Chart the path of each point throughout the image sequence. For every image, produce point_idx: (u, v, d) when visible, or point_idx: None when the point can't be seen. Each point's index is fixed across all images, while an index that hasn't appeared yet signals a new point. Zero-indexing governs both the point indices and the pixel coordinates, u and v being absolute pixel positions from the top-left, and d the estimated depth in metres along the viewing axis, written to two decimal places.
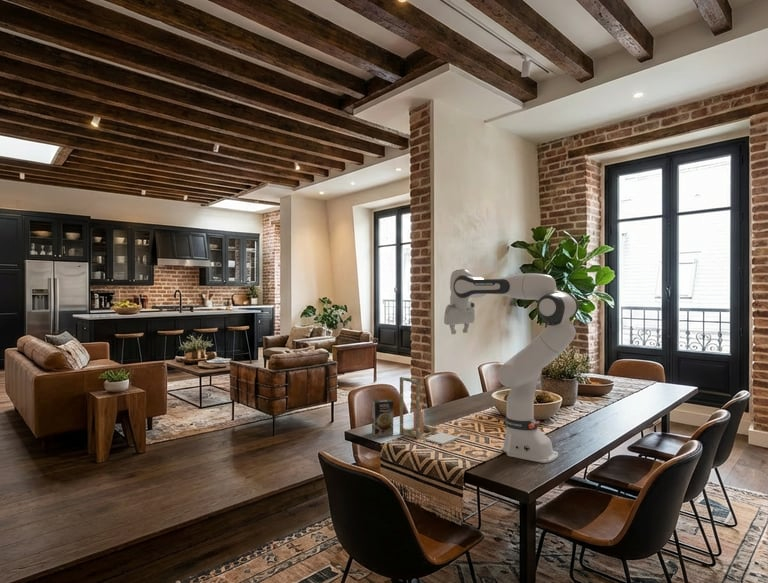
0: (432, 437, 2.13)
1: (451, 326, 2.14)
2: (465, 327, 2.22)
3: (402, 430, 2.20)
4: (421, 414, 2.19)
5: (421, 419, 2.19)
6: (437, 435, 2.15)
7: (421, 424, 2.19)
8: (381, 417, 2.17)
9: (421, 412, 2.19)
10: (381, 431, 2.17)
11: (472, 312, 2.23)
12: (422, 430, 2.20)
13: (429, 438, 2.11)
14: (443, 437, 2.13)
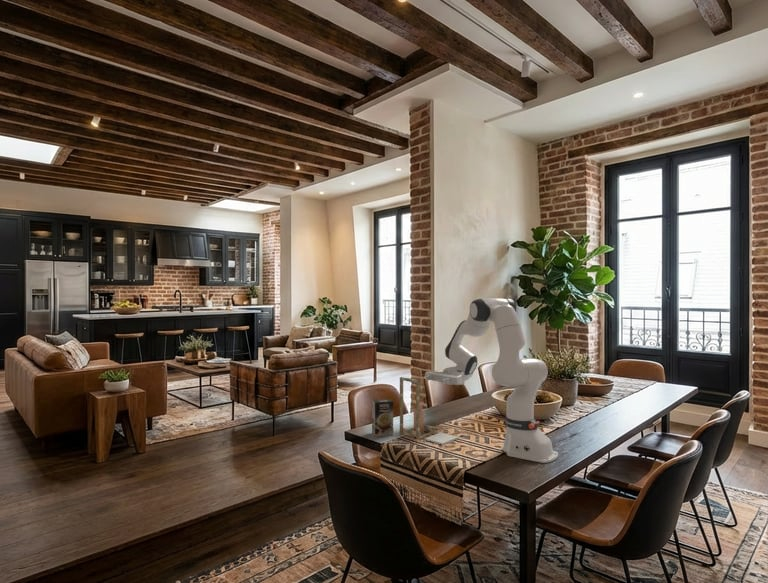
0: (432, 437, 2.13)
1: None
2: None
3: (402, 430, 2.20)
4: (421, 414, 2.19)
5: (421, 419, 2.19)
6: (437, 435, 2.15)
7: (421, 424, 2.19)
8: (381, 417, 2.17)
9: (421, 412, 2.19)
10: (381, 431, 2.17)
11: (458, 375, 2.32)
12: (422, 430, 2.20)
13: (429, 438, 2.11)
14: (443, 437, 2.13)
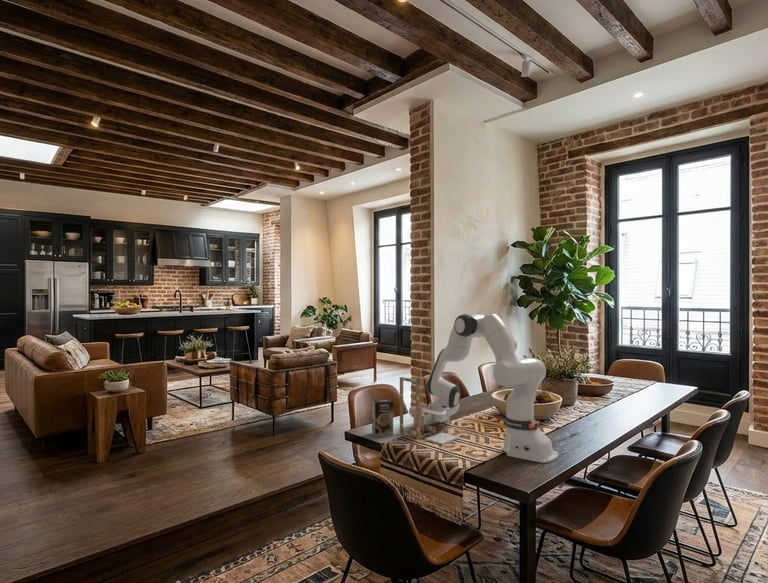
0: (432, 437, 2.13)
1: None
2: None
3: (402, 430, 2.20)
4: (421, 414, 2.19)
5: (421, 419, 2.19)
6: (437, 435, 2.15)
7: (421, 424, 2.19)
8: (381, 417, 2.17)
9: (421, 412, 2.19)
10: (381, 431, 2.17)
11: (443, 411, 2.23)
12: (422, 430, 2.20)
13: (429, 438, 2.11)
14: (443, 437, 2.13)
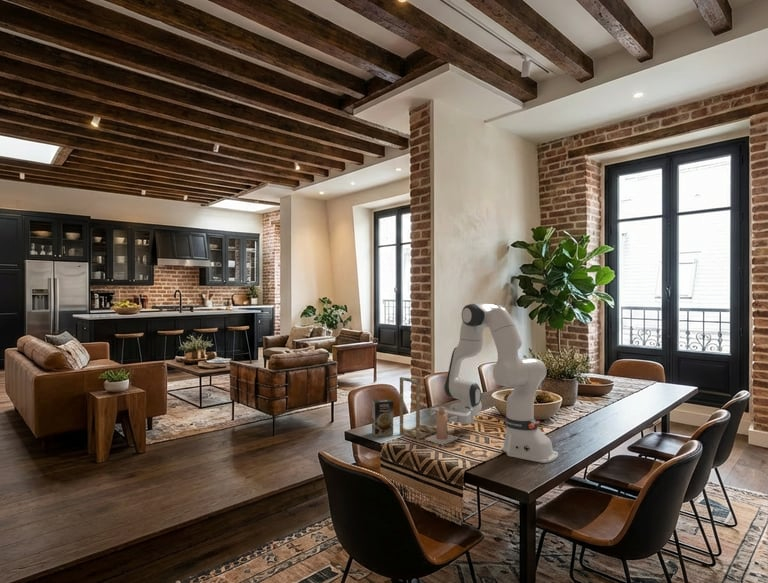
0: (432, 437, 2.13)
1: None
2: None
3: (402, 430, 2.20)
4: (444, 418, 2.10)
5: (444, 423, 2.10)
6: None
7: (444, 428, 2.10)
8: (381, 417, 2.17)
9: (444, 416, 2.10)
10: (381, 431, 2.17)
11: (467, 412, 2.13)
12: (445, 434, 2.10)
13: (429, 438, 2.11)
14: None
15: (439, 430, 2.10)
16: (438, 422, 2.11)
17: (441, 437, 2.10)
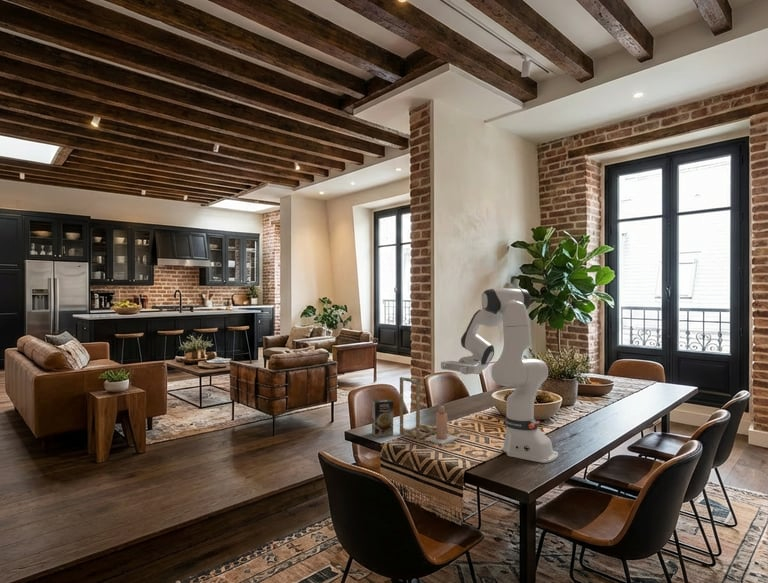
0: (432, 437, 2.13)
1: None
2: None
3: (402, 430, 2.20)
4: (444, 417, 2.10)
5: (444, 423, 2.10)
6: None
7: (444, 428, 2.10)
8: (381, 417, 2.17)
9: (444, 415, 2.10)
10: (381, 431, 2.17)
11: (475, 364, 2.27)
12: (445, 434, 2.11)
13: (429, 438, 2.11)
14: None
15: (439, 430, 2.10)
16: (438, 422, 2.11)
17: (441, 437, 2.10)
